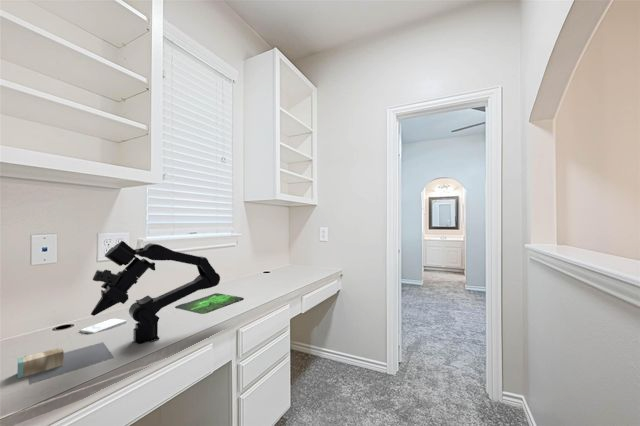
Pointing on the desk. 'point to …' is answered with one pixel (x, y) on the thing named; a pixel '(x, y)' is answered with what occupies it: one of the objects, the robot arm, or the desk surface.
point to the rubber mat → (75, 361)
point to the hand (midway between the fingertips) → (92, 314)
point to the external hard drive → (103, 326)
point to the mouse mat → (209, 303)
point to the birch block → (40, 362)
